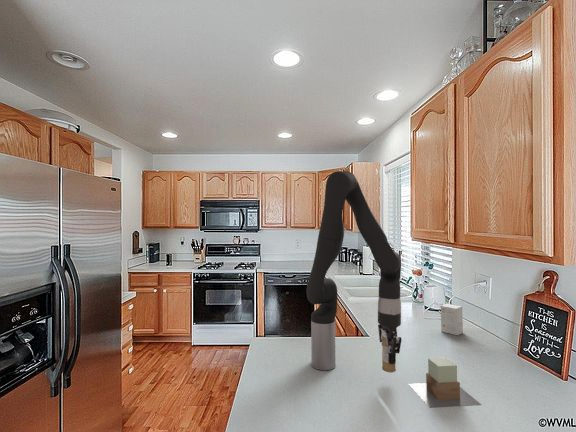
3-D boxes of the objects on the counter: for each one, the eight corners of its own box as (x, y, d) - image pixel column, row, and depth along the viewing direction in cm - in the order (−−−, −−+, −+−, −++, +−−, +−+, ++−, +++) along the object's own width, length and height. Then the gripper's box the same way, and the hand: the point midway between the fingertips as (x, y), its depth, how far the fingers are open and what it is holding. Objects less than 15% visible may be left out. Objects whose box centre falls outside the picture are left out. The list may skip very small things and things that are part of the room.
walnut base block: (426, 388, 106) (426, 373, 106) (446, 387, 106) (446, 372, 106) (438, 400, 99) (437, 383, 99) (460, 399, 99) (459, 382, 100)
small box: (463, 332, 161) (462, 306, 162) (457, 335, 157) (457, 308, 158) (446, 328, 168) (446, 303, 168) (440, 331, 164) (440, 305, 164)
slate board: (408, 387, 109) (408, 384, 109) (453, 384, 110) (453, 381, 110) (429, 411, 95) (429, 407, 95) (481, 408, 96) (481, 404, 96)
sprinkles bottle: (385, 365, 114) (385, 327, 114) (398, 369, 111) (398, 330, 111) (379, 370, 110) (379, 330, 110) (392, 374, 107) (392, 333, 107)
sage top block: (428, 373, 105) (428, 358, 106) (446, 372, 106) (445, 357, 106) (438, 382, 99) (438, 366, 100) (457, 381, 100) (456, 365, 100)
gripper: (370, 304, 117) (370, 352, 117) (387, 316, 103) (387, 371, 103) (390, 304, 118) (390, 351, 118) (409, 316, 104) (409, 369, 104)
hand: (388, 360), depth 110 cm, fingers closed on sprinkles bottle, 4 cm apart
